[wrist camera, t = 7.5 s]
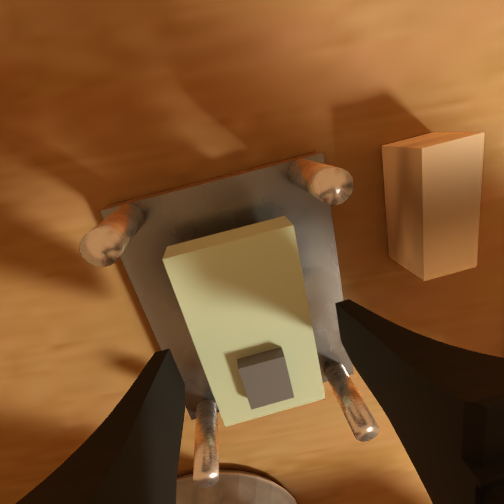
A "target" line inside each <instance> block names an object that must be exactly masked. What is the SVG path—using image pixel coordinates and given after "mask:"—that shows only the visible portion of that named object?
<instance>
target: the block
mask: <svg viewBox="0 0 504 504" xmlns="http://www.w3.org/2000/svg"><path fill="white" fill-rule="evenodd" d="M484 135H485V132H432V133H428V134H425V135H421V136H417V137H413V138H409V139H405V140H401V141H398V142H394V143H390V144H386V145H382V160H383V176H384V191H385V207H386V222H387V237H388V253H389V258H391V259H392V260H394V261H395V262H397V263H398V264H399V265H401V266H402V267H404V268H405V269H407V270H408V271H410V272H411V273H413V274H414V275H415V276H417V277H418V278H420V279H421V280H423V281H427V280H431V279H434V278H438V277H442V276H445V275H449V274H452V273H456V272H460V271H463V270H467V269H470V268H474V267H477V255H478V238H479V221H480V203H481V186H482V169H483V152H484Z"/></svg>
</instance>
